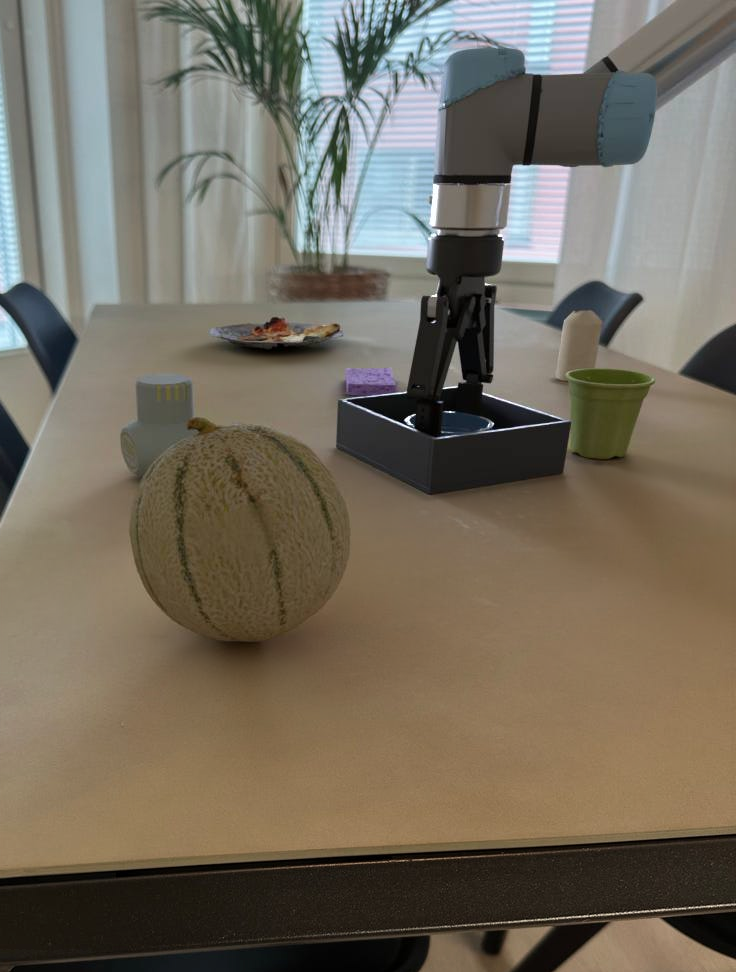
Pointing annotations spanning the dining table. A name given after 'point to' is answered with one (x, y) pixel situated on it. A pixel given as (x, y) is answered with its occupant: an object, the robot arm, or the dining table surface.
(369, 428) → the tub
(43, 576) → the dining table surface
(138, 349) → the dining table surface
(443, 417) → the blue round bowl
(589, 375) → the plant pot
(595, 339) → the candle
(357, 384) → the sponge
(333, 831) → the dining table surface
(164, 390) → the air freshener
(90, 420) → the dining table surface
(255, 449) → the cantaloupe
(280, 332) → the food plate
